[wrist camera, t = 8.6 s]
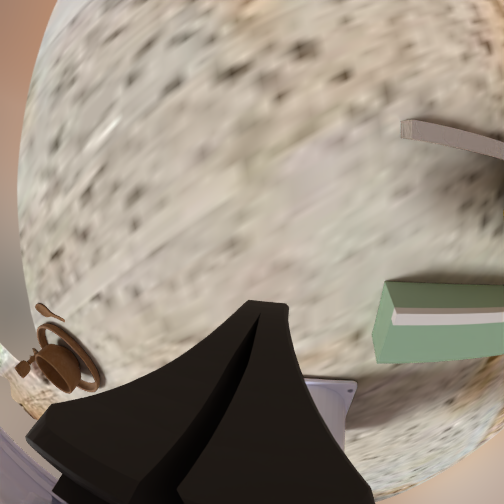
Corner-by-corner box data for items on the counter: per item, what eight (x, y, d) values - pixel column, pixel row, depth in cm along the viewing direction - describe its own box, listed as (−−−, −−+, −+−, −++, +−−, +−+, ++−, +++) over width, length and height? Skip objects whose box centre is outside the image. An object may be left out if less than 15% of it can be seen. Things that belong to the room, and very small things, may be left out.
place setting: (117, 406, 34) (99, 433, 29) (37, 358, 37) (19, 376, 32) (85, 321, 27) (54, 353, 21) (5, 278, 30) (-21, 295, 24)
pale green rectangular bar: (520, 328, 15) (536, 353, 12) (371, 334, 18) (377, 369, 15) (538, 285, 13) (558, 307, 10) (384, 281, 17) (396, 313, 13)
